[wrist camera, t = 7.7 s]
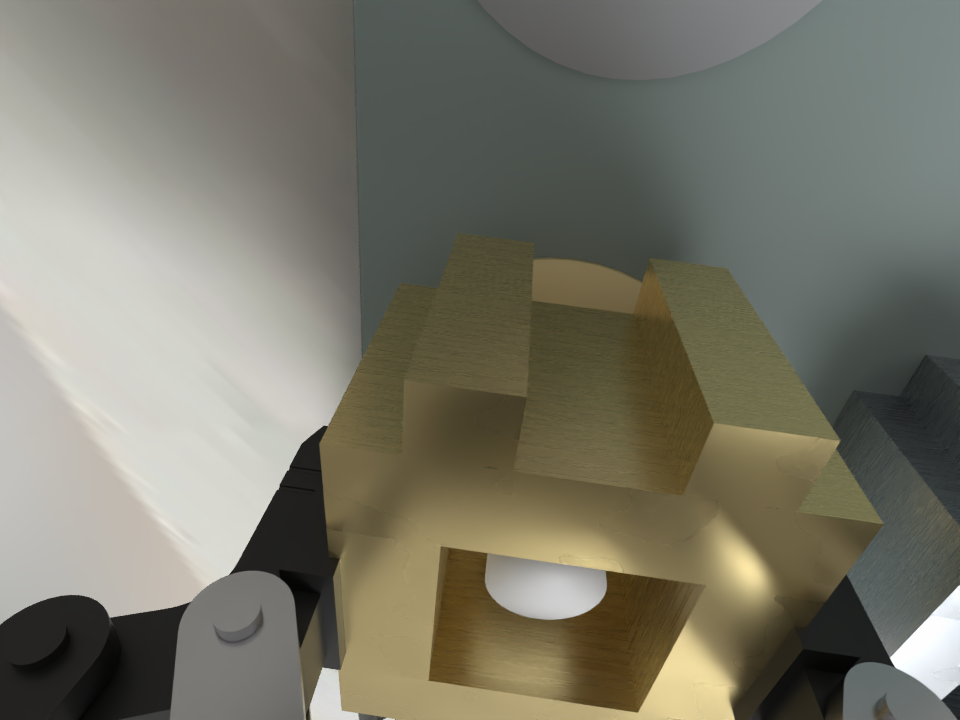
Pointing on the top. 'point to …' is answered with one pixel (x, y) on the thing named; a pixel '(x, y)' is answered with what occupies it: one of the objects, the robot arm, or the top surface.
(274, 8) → the top surface
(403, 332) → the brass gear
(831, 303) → the gear board
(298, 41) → the top surface
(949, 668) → the grey hollow block
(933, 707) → the robot arm
